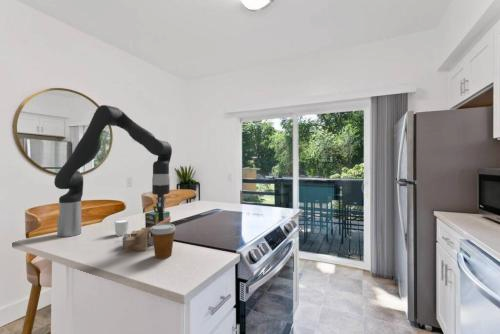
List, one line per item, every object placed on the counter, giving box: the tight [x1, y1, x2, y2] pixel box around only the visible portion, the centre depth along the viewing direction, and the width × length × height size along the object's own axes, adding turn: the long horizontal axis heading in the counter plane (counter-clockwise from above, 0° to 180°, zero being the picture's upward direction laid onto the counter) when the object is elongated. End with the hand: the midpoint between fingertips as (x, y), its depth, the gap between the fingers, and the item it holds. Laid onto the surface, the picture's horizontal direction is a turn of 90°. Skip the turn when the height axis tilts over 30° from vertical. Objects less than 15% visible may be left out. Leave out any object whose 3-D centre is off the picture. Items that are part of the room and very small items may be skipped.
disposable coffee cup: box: [151, 223, 176, 259], centre depth 96 cm, size 10×10×12 cm
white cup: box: [114, 219, 130, 237], centre depth 125 cm, size 7×7×7 cm
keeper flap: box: [148, 215, 172, 233], centre depth 110 cm, size 11×5×1 cm, turn 104°
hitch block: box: [124, 227, 152, 253], centre depth 108 cm, size 8×15×6 cm, turn 15°
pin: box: [122, 233, 154, 250], centre depth 108 cm, size 13×6×5 cm, turn 108°
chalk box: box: [144, 205, 171, 237], centre depth 127 cm, size 9×9×15 cm
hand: (161, 220), depth 110 cm, fingers closed
